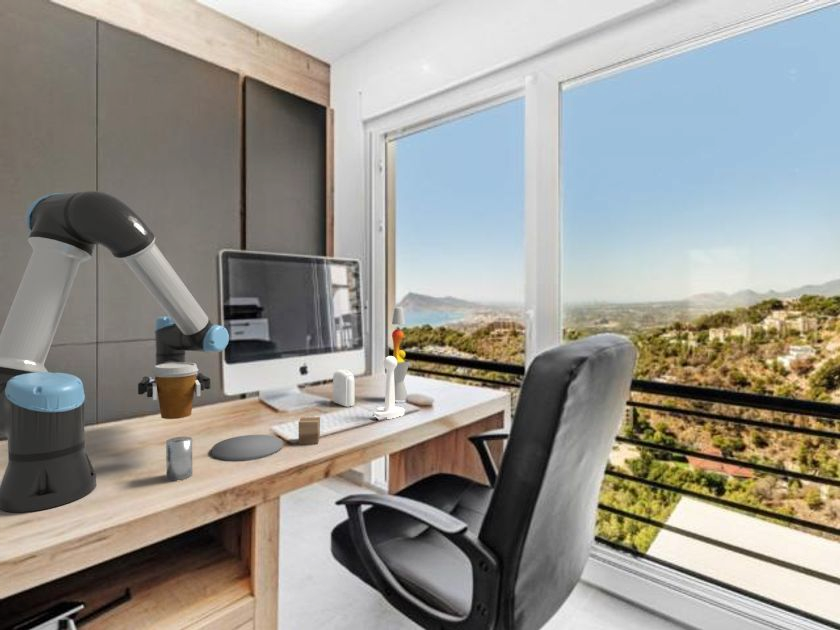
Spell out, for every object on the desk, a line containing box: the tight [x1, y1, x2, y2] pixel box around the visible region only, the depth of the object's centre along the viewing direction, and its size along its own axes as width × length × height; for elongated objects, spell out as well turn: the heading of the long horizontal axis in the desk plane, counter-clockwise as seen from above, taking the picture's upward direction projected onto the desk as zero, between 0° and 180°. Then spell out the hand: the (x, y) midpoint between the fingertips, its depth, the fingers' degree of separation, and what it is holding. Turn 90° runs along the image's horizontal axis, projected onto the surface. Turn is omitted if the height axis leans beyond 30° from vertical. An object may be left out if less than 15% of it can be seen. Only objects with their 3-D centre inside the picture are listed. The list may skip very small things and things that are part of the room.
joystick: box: [372, 355, 405, 420], centre depth 151 cm, size 11×8×20 cm
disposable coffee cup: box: [152, 362, 199, 420], centre depth 109 cm, size 10×10×12 cm
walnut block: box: [298, 416, 321, 445], centre depth 125 cm, size 5×5×6 cm
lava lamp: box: [391, 306, 411, 400], centre depth 172 cm, size 9×9×35 cm
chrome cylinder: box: [165, 436, 193, 482], centre depth 100 cm, size 5×5×8 cm
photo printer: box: [332, 369, 356, 408], centre depth 166 cm, size 10×4×12 cm, turn 39°
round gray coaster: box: [211, 434, 284, 462], centre depth 118 cm, size 17×17×1 cm
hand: (177, 392), depth 105 cm, fingers closed on disposable coffee cup, 8 cm apart
